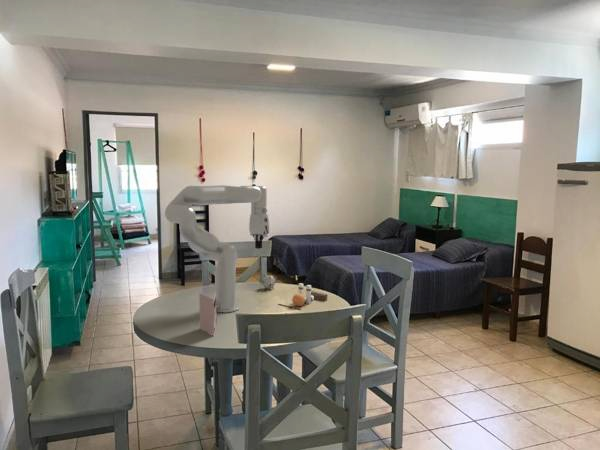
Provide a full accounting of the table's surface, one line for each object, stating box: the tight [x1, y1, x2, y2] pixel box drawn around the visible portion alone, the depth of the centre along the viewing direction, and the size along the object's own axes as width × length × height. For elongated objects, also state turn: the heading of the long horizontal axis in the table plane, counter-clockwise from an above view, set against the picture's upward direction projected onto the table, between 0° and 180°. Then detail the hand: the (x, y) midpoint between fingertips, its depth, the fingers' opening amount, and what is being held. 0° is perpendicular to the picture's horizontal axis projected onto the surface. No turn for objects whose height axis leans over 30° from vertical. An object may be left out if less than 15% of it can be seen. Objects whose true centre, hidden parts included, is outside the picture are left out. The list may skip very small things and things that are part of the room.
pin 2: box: [305, 284, 312, 305], centre depth 238 cm, size 2×2×9 cm
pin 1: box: [297, 282, 304, 296], centre depth 241 cm, size 2×2×9 cm
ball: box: [291, 293, 305, 307], centre depth 233 cm, size 6×6×6 cm
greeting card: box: [199, 293, 218, 336], centre depth 194 cm, size 11×7×15 cm, turn 5°
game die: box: [261, 273, 278, 290], centre depth 266 cm, size 9×8×10 cm
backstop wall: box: [311, 290, 328, 302], centre depth 248 cm, size 2×12×3 cm, turn 50°
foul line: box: [277, 303, 302, 311], centre depth 232 cm, size 1×14×1 cm, turn 50°
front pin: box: [304, 295, 314, 304], centre depth 241 cm, size 2×2×9 cm
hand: (258, 248), depth 238 cm, fingers closed
